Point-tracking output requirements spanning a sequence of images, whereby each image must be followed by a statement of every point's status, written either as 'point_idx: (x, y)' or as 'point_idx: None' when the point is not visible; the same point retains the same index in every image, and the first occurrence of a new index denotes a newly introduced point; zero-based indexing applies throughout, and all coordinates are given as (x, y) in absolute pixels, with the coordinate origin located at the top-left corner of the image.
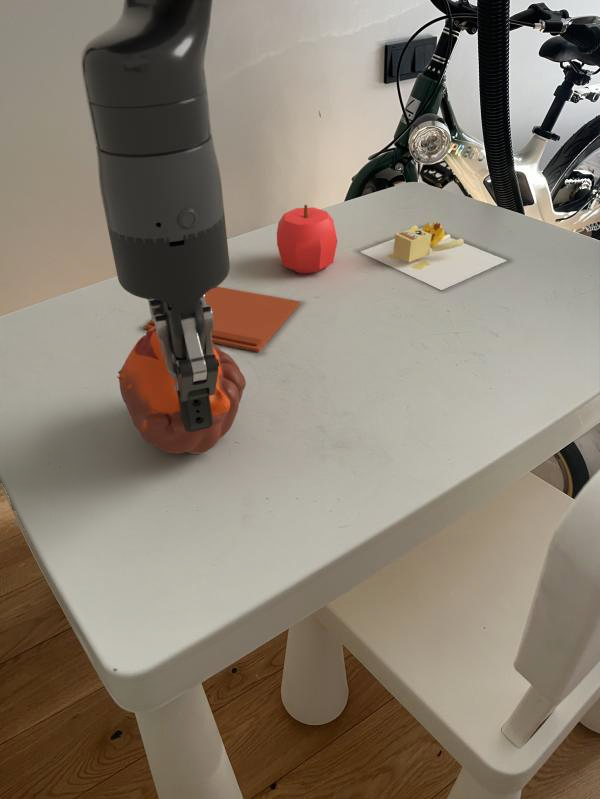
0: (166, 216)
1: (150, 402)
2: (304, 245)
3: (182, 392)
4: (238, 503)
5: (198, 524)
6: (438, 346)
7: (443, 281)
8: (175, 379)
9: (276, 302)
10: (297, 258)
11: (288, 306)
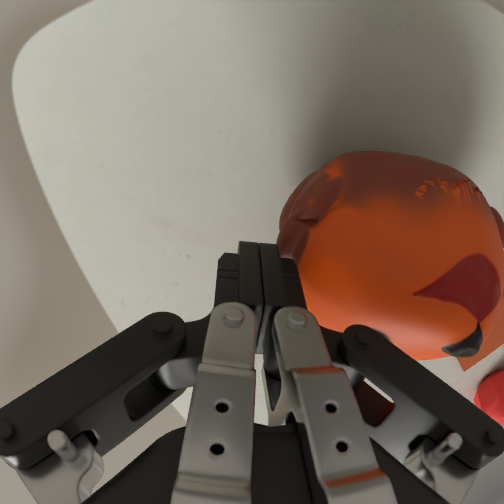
0: None
1: (352, 210)
2: (494, 403)
3: (86, 355)
4: (193, 224)
5: (173, 165)
6: None
7: None
8: (225, 340)
9: (479, 356)
10: (494, 388)
11: (467, 363)
